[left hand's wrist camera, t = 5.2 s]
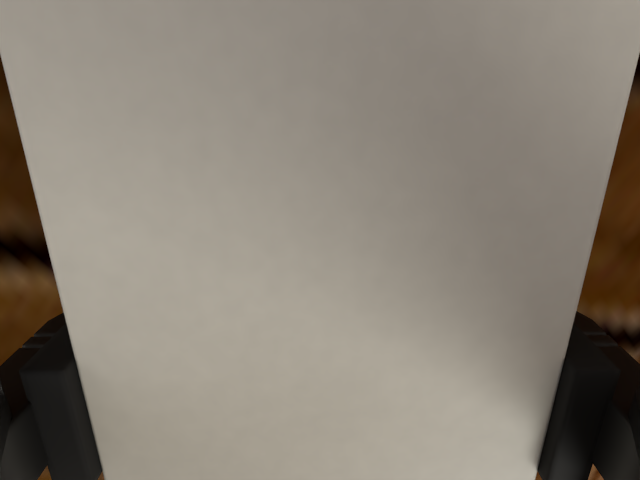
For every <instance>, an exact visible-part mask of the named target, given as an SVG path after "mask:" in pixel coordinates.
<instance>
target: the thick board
mask: <svg viewBox="0 0 640 480" xmlns="http://www.w3.org/2000/svg"><path fill="white" fill-rule="evenodd" d="M639 53H640V0H0V55H1V59H2V63H3V67H4V71H5V75H6V79H7V83H8V87H9V91H10V95H11V100H12V104H13V108H14V112H15V116H16V120H17V124H18V128H19V132H20V136H21V140H22V144H23V149H24V153H25V157H26V161H27V165H28V169H29V173H30V177H31V181H32V185H33V189H34V193H35V197H36V202H37V206H38V210H39V214H40V218H41V222H42V226H43V230H44V234H45V238H46V242H47V246H48V250H49V255H50V259H51V263H52V267H53V271H54V275H55V279H56V283H57V287H58V291H59V295H60V299H61V303H62V308H63V312H64V316H65V320H66V324H67V328H68V332H69V336H70V340H71V344H72V348H73V352H74V356H75V361H76V365H77V369H78V373H79V377H80V381H81V385H82V389H83V393H84V397H85V401H86V405H87V410H88V414H89V418H90V422H91V426H92V430H93V434H94V438H95V442H96V446H97V450H98V454H99V458H100V463H101V467H102V471H103V475H104V479H105V480H535V477H536V473H537V469H538V465H539V461H540V457H541V453H542V449H543V445H544V441H545V436H546V432H547V428H548V424H549V420H550V416H551V412H552V408H553V404H554V400H555V396H556V392H557V387H558V383H559V379H560V375H561V371H562V367H563V363H564V359H565V355H566V351H567V347H568V343H569V338H570V334H571V330H572V326H573V322H574V318H575V314H576V310H577V306H578V302H579V298H580V294H581V289H582V285H583V281H584V277H585V273H586V269H587V265H588V261H589V257H590V253H591V249H592V245H593V240H594V236H595V232H596V228H597V224H598V220H599V216H600V212H601V208H602V204H603V200H604V196H605V191H606V187H607V183H608V179H609V175H610V171H611V167H612V163H613V159H614V155H615V151H616V147H617V142H618V138H619V134H620V130H621V126H622V122H623V118H624V114H625V110H626V106H627V102H628V98H629V93H630V89H631V85H632V81H633V77H634V73H635V69H636V65H637V61H638V57H639Z"/></svg>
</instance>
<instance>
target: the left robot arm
mask: <svg viewBox="0 0 640 480" xmlns="http://www.w3.org/2000/svg"><path fill="white" fill-rule="evenodd" d="M592 464H594V465H595V467H596V468H597V470H598V471H599V473H600V474H601V476H602V477H603V479H604V480H640V364H639V363H638V362H637V361H636V360H635V359H634V358H632V357H631V356H630V355H629V354H628V353H627V352H626V351H625V350H624V349H623V348H622V347H621V346H618V344H617V343H616V342H615V341H614V340H613V339H612V338H611V337H610V336H609V335H606V332H605V331H604V330H602V329H601V328H600V327H599V326H598V325H597V324H596V323H595V322H594V321H593V320H592V319H590V318H588V317H586V316H584V315H583V314H581V313H579V312H577V311H576V314H575V318H574V322H573V326H572V330H571V334H570V338H569V343H568V347H567V351H566V355H565V359H564V363H563V367H562V371H561V375H560V379H559V383H558V387H557V392H556V396H555V400H554V404H553V408H552V412H551V416H550V420H549V424H548V428H547V432H546V436H545V441H544V445H543V449H542V453H541V457H540V461H539V465H538V469H537V471H538V472H539V474H540V476H541V478H542V480H588V477H589V474H590V471H591V467H592ZM47 465H48V468H49V472H50V475H51V478H52V480H97V479H98V477H99V476H100V474H101V472H102V467H101V463H100V458H99V454H98V450H97V446H96V442H95V438H94V434H93V430H92V426H91V422H90V418H89V414H88V410H87V405H86V401H85V397H84V393H83V389H82V385H81V381H80V377H79V373H78V369H77V365H76V361H75V356H74V352H73V348H72V344H71V340H70V336H69V332H68V328H67V324H66V320H65V316H64V313H62V314H60V315H58V316H57V317H55V318H53V319H51V320H49V321H48V322H47V323H46V324H45V325H44V326H42V327H41V328H40V329H39V330H38V331H37V332H36V333H35V334H34V337H31V338H30V339H29V340H28V341H27V342H25V343H24V344H23V347H22V348H19V349H18V350H17V351H16V352H15V353H14V354H13V355H12V356H11V357H10V358H8V359H7V360H6V361H5V362H4V363H3V364H2V365H1V366H0V480H37V479H38V478H39V476H40V475H41V473H42V472H43V470H44V469H45V467H46V466H47Z"/></svg>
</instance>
